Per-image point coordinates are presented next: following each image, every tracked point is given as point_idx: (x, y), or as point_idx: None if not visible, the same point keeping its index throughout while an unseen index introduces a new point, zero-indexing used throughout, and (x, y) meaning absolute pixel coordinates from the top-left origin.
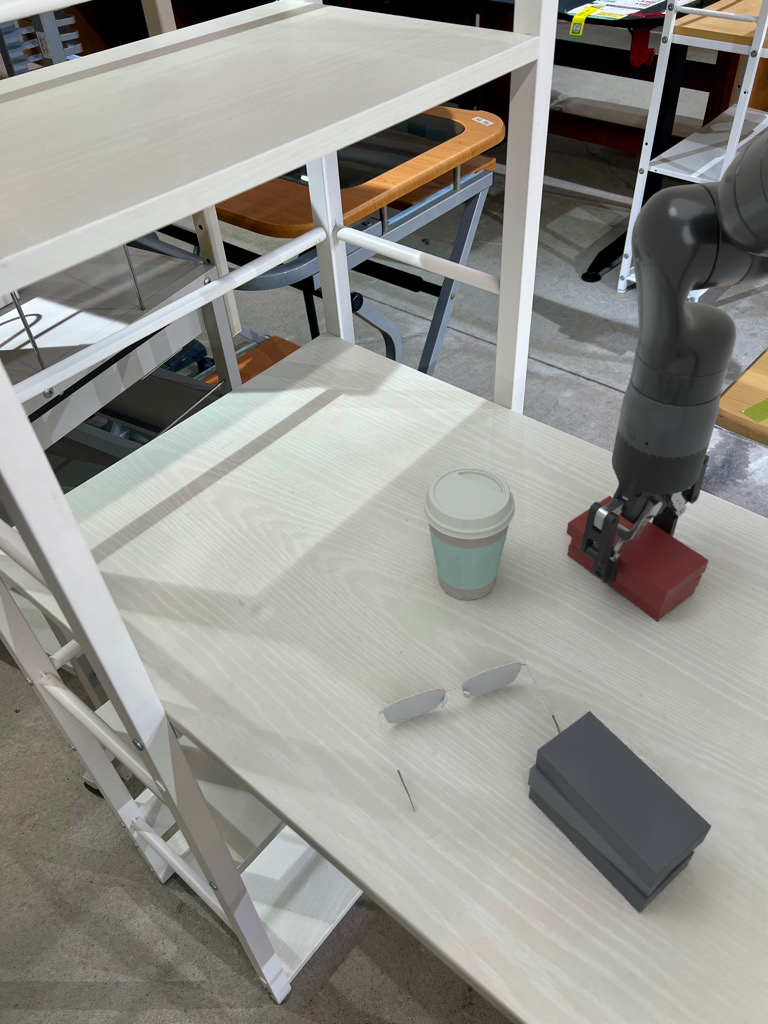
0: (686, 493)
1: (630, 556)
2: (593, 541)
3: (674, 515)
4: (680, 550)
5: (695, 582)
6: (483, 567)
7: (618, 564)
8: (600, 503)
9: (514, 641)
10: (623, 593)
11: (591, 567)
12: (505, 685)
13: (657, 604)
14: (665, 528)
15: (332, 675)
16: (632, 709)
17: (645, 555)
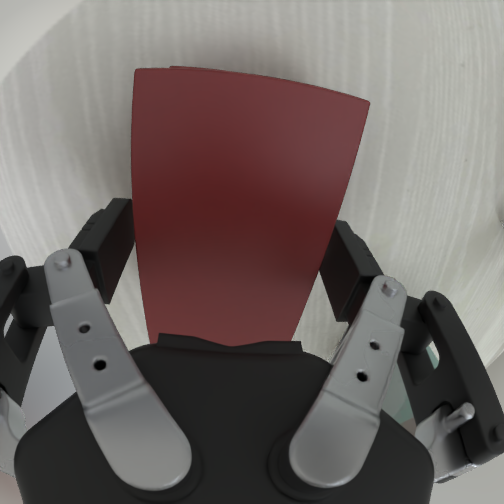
0: (21, 300)
1: (298, 248)
2: (405, 357)
3: (83, 259)
4: (165, 158)
5: (195, 67)
6: (436, 363)
7: (354, 256)
8: None
9: (450, 250)
10: None
11: None
12: (501, 223)
13: None
14: (117, 237)
15: (496, 319)
16: (483, 71)
17: (266, 222)
